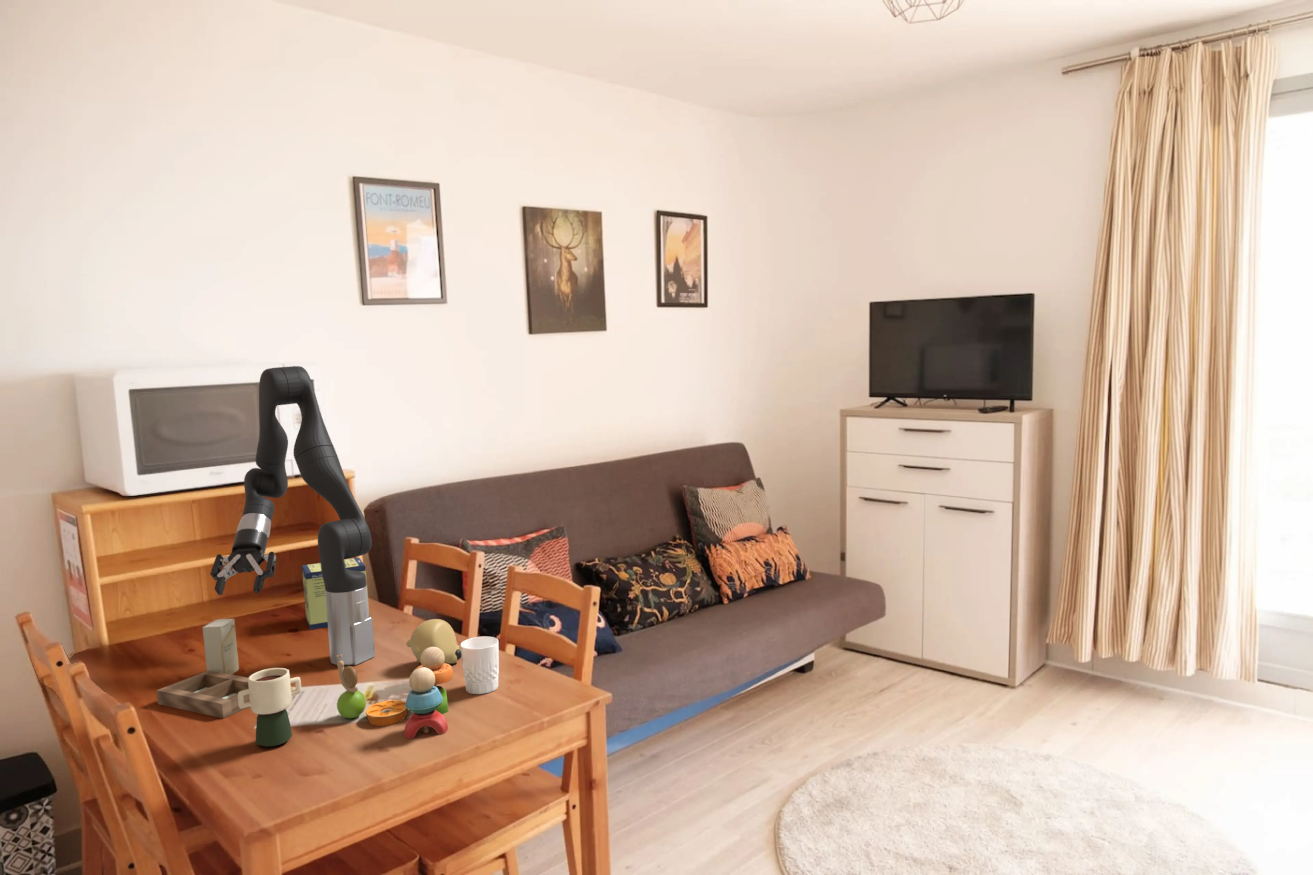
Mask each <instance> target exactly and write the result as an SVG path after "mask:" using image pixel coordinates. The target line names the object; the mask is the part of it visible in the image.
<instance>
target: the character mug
mask: <svg viewBox="0 0 1313 875" xmlns="http://www.w3.org/2000/svg"><path fill="white" fill-rule="evenodd" d="M247 678H248V686H249V689H247V690H243V691H240V692H238V705H239V708H241V709H243V708H245V709H247V707H248V708H250V710H251V711H252V712H253V713H254V714H255V715H257V716H256V724H255V744H256V745H258V746H263V747H276V746H279V745H282V744H285V743H286V742H287V741H290V739H291V738H292V737H293V731H292V727H291V726H292V725H291V722H290V718H289V714H288V711H287V708H289V707H290V706H291V705H292V700H293V699H292V696H296V695H299V694H301V693H302V682H301V677H300V676H296V677H292V678H291V675H290V669H287V668H284V667H272V668H265V669H262V670H259V671H255V672H254V673H251V674H250V675H249V676H248V677H247ZM294 683H295V684H294ZM291 684H294V685H295V689H294V690H292V686H291ZM248 694H249V699H250V702H246V703H244V695H248ZM243 710H244V709H243Z"/></svg>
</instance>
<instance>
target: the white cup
mask: <svg viewBox="0 0 1313 875" xmlns="http://www.w3.org/2000/svg"><path fill="white" fill-rule="evenodd" d="M499 644H500V642H499V639H498V638H497V637H494V636H475V637H471V638H467V639H466V640H463V641H462V642H460V645H459V646H460V651H461V655H462V657H461V664H462V671H463V678H464V684H465V691H466V692H467V693H468V694H472V695H485V694H490V693H492V692H495V691H497V689H498V688H499V674H500V673H499V670H500V669H499V667H500V658H499V656H500V653H499V652H500V651H499V648H500V646H499Z"/></svg>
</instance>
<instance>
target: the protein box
mask: <svg viewBox="0 0 1313 875" xmlns="http://www.w3.org/2000/svg"><path fill="white" fill-rule="evenodd" d="M344 563H345V567H346V569H348V570H353V571H359V572H362V573H364V574H365V575H366V576H367V569H366V564H365V563H364V562H363V561H362V559H361V558H360V557H353V558H349V559H344ZM301 573H302V584H303V585H302V586H303V595H304V596H303V597H304V606H305V620H306V622H307V625H308V627H309V629H310V631H311V630H318V629H324V628H328V622H327V608H326V594H325V584H324V580H323V577H322V572H321V563H320V562H318V563H311V564H303V565H301ZM366 582H367V578H366ZM367 583H368V582H367ZM367 596H368V597H367V598H368V599H369V594H368V591H367ZM369 609H370V608H369V605H368V611H369V612H370V610H369Z"/></svg>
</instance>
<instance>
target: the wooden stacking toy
mask: <svg viewBox="0 0 1313 875" xmlns="http://www.w3.org/2000/svg"><path fill="white" fill-rule="evenodd" d="M444 660H445V656H444V653H443V651H442V650H441V649H439V648H437V647H429V648H427V649H425V650H424V651H423V653H422V655H421V658H420V661H421V662H420V665H419V666H417V667H415V668H414V670H413V671H412V672H411V674H410V676H409V680H408V682H409V683H408V684H409V687H410V688H411V689H410V691H409V692H408V694H407V697H406V700H399V699H388V700H384V701H380V702H376V703H373V704H372V705H370V706H368V707H367V708H365V715H366V717H367V719H368V722H369V724H371V725H373V726H377V727H378V726H379V727H385V726H391V725H395V724H398V723H400V722H402V721H404V720H405V718H406V717H407V713H408V711H410V712H412V713H413V714H412V715H411V716H410V717H409V718H408V720H407V721H406V723H405V726H404V730H403V736H404V738H406V739H407V740H408V739H409V740H411V739H413V738H415V737H416V734H417V732H418V731H419V730H420V729H422V732H423V733H430V732H431V728H433V730H435V732H436V733H437V734H438V735H444V734H446V733H447V731H448V730H449V724H448V722H447V720H446V717H445V716H444V714H446V713H449V703H448V696H447V690H446V689H445V688H444V687H443V686H441V684H445V683H447V682H450V681H452V680H453V679H454V678H455V674H454V670H453V667H452V665H451V664H446V663H444Z"/></svg>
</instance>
